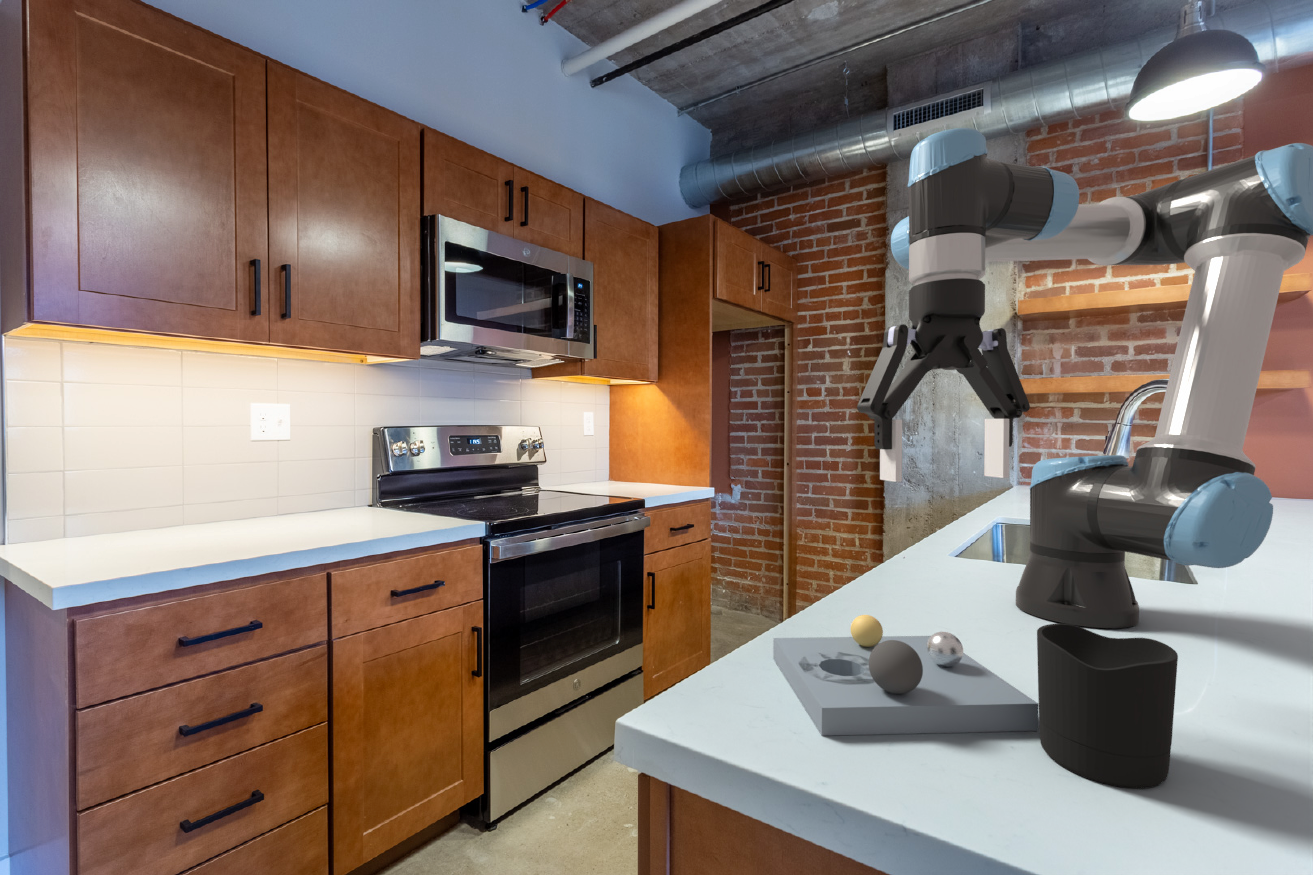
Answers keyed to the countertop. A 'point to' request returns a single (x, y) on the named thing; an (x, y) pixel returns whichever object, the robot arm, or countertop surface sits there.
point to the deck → (856, 705)
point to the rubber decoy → (895, 667)
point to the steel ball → (945, 649)
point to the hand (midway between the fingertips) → (944, 479)
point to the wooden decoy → (866, 630)
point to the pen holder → (1106, 704)
